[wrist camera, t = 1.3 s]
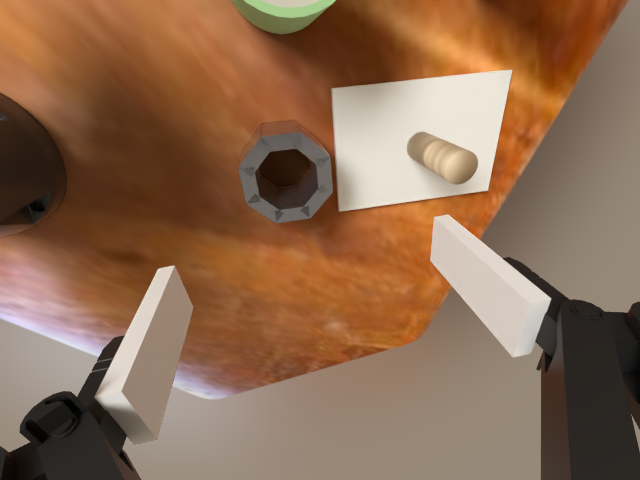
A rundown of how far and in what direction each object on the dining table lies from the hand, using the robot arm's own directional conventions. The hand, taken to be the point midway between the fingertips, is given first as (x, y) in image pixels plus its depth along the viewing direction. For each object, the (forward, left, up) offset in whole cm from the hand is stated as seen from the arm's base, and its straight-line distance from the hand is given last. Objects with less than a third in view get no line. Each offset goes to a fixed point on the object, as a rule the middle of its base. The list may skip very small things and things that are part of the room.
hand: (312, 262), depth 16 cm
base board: (+16, -1, -23) cm, 27 cm away
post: (+16, -1, -23) cm, 27 cm away
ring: (0, -1, -23) cm, 23 cm away
